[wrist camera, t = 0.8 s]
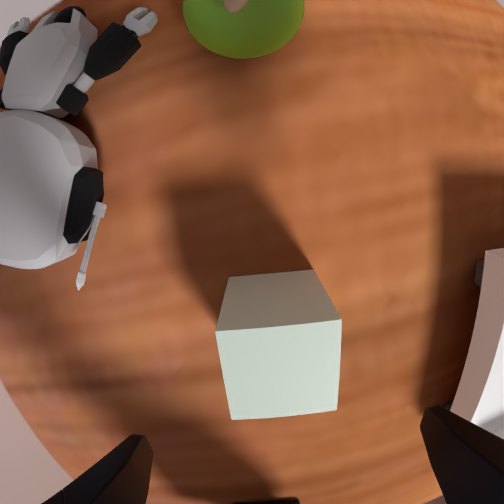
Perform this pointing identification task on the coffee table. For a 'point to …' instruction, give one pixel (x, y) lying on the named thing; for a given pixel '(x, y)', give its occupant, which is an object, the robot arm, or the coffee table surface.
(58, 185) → the robot toy
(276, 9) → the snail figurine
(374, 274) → the coffee table surface
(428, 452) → the robot arm
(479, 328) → the tray
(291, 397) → the part block
